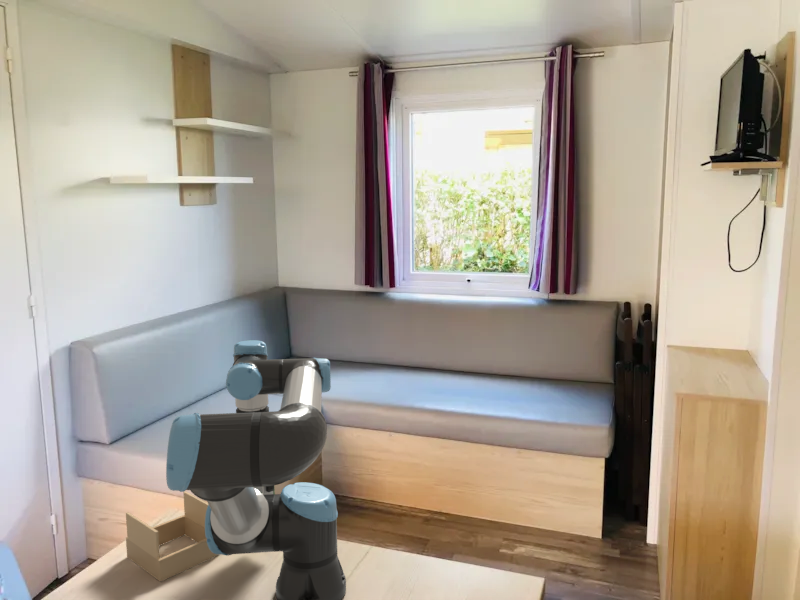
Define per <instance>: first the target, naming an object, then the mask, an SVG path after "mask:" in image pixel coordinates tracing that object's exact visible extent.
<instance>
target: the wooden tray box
mask: <svg viewBox="0 0 800 600" xmlns="http://www.w3.org/2000/svg"><path fill="white" fill-rule="evenodd" d="M183 507H184V509H183V510H184V511H183V512H184V514H182V515H180V516H178V517H175V518H172V519H170V520H167V521H164V522H163V523H160V524H157V525H154V526H151V525H149V524H147V523H146V522H144V521H143V520H141V519H140V518H138V517H137V516H135V515H133V514H132V513H131V512H129V511H127V512H125V520H126V524H125V525H126V535H127V536H126V537H125V542H126V543H125V545H126V547H125V548H126V558H127V559H129V560H130V561H132V562H133V563H134V564H135V565H137V566H139V567H140V568H141V569H142V570H144V571H145V572H147V573H148V574H149V575H151V576H152V577H153V578H154V579H156V580H157V581H159V582H163V581H165V580H167V579H170V578H172V577H174V576H176V575H179V574H180V573H183V572H185V571H187V570H189V569H192V568H193V567H196V566H198V565H200V564H202V563H204V562H206V561H209V560H211V559H213V558H215V557H217V556H220V554H214V553H213V552H211V551H210V549H209V547H208V545H207V538H206V535H205V516H206V510H207V507H208V502H207V501H205V500H202V499H200V498H198V497H197V496H195V495H194V494H193V493H190V492H188V491H187V490H185V491H184V492H183ZM183 536H186V537H187V538H189V537H190V538H189V539H191V540H192V539H193V540H192V541H194V540H195V541H194V542H195V543H193V544H191V545H188V546H186V547H183V548H181V549H179V550H176V551H175V552H172V553H169V554H168V555H165V556H163V557H160V556H161V555H160V553H161V552H160V546H161V544H162V545H164V544H167V543H168V542H171V541H174V540H177V539H178V538H181V537H183ZM173 539H174V540H173ZM166 542H167V543H166ZM163 543H164V544H163ZM159 545H160V546H159Z"/></svg>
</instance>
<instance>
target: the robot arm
mask: <svg viewBox="0 0 800 600" xmlns="http://www.w3.org/2000/svg"><path fill="white" fill-rule="evenodd" d="M232 356H233V363H232V366H231V367H230V369H229V370H228V372H227V374H226V381H225V386H226V389H227V391H228V393H229V394H230V396H232V397H233V398H234V400H235V407H236V409H235V412H234V413H233V412H232V413H231V412H229V413H207V414H206V413H205V414H201V413H198V412H194V413H191V414H182V415H179V416H177V417H176V418H174V419H173V421H172V423H171V426H170V431H169V434H168V435H169V436H168V441H167V442H168V444H167V452H166V465H165V466H166V467H165V468H166V469H165V473H166V474H165V476H166V477H165V478H166V480H165V481H166V486H167V487H168V490H170V491H176V492H180V493H182V492H185V491H190V492H191V494H192V495H194V496H195V497H197V498H199V499H201V500H203V501H205V502H207V503H208V507H207V510H206V516H205V535H206V538H207V545H208V547H209V549H210V551H211V552H213V553H214V554H219V556H220V555H221V556H222V555H223V556H233V555H242V554H258V553H259V554H260V553H271V552H272V553H273V552H275V553H277V552H282V558H283V560H282V563H281V567H280V571H279V575H278V577H277V579H276V583H275V597H276V600H343V598H344V597H345V594H346V592H347V579H346V575H345V573H344V569H343V568H342V564H341V561H340V558H339V556H338V526H337V525H338V523H337V522H338V521H337V520H338V519H337V518H338V515H339V513H338V509H337V498H336V496H335V494H334V493H333V491H332V490H330V489H329V488H327V487H326V486H324V485H322V484H319V483H314V482H305V481H304V482H303V481H302V482H301V481H300V482H294V483H293V484H292V483H291V484H290V483H289V484H287V485H286V486H284V487H283V488H282V489H281V492H280V493H275V494H273V491H274V488H275V486H276V485H277V486H278V485H280V484H283V483H286V482H288V481H290V480H292V479H294V478H295V477H297V476H299V475H301V473H303V472H305V471H306V470H307V469H308V468H309V467H311V466H312V465H313V463H314V462H315V461H316V460H317V459H318V457H319V456H320V454H321V453H322V451H323V450H324V447H325V445H326V441H327V436H328V435H327V434H328V428H327V427H328V426H327V420H326V418H325V416H324V414H323V413H322V401H323V400H322V398H323V397H322V393H327V392H330V390H331V388H332V386H331V361H330V360H329V359H328V358H323V357H321V358H320V357H310V358H286V359H285V358H284V359H283V358H282V359H281V358H279V359H275V358H274V359H268V356H269V355H268V348H267V344H266V342H264V341H262V340H257V339H254V340H252V339H251V340H250V339H249V340H241V341H238V342H236V343H235V344H234V346H233V354H232ZM269 395H282V400H281V404H280V409H278V411H270V407H269V406H268V405H269ZM254 487H262V493H261V492H260V491H258V490H257V489H255V488H254Z"/></svg>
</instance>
